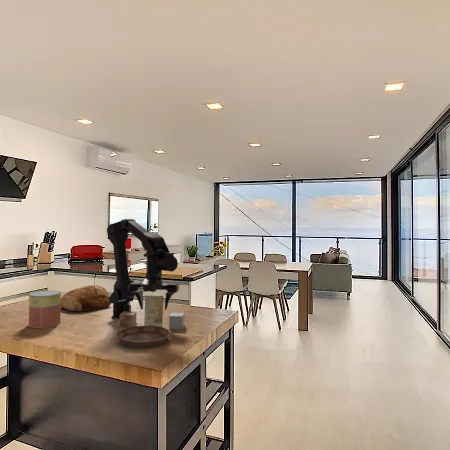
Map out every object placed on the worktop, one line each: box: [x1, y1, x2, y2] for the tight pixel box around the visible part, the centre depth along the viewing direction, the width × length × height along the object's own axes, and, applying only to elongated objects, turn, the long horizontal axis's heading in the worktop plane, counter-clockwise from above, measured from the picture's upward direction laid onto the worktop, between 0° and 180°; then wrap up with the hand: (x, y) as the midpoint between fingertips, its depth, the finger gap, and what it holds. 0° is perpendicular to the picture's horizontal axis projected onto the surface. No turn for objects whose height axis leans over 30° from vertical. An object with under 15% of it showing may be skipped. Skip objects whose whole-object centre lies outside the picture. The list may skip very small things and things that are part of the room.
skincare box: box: [143, 293, 164, 327], centre depth 139 cm, size 6×4×12 cm
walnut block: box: [119, 311, 137, 329], centre depth 140 cm, size 5×5×5 cm
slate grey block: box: [168, 312, 186, 330], centre depth 139 cm, size 5×5×5 cm
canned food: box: [27, 289, 62, 329], centre depth 142 cm, size 11×11×12 cm
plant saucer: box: [115, 325, 171, 349], centre depth 123 cm, size 18×18×3 cm
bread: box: [61, 284, 112, 312], centre depth 169 cm, size 20×18×10 cm
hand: (153, 309), depth 139 cm, fingers open, 9 cm apart
